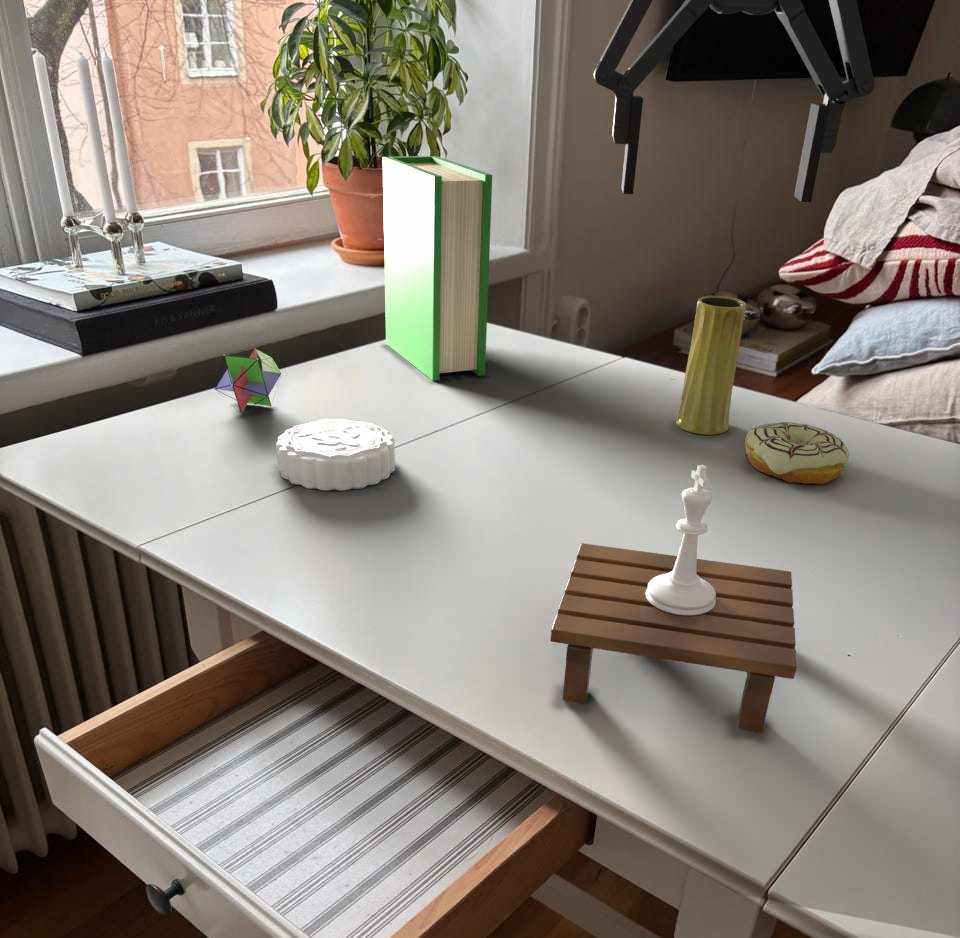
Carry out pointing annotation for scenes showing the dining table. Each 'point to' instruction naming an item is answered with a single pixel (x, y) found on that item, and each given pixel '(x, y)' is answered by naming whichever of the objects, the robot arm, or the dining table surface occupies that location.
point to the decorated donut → (796, 452)
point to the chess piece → (686, 559)
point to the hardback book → (436, 262)
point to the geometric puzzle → (249, 379)
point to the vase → (711, 365)
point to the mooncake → (335, 454)
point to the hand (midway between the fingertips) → (714, 196)
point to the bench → (678, 622)
